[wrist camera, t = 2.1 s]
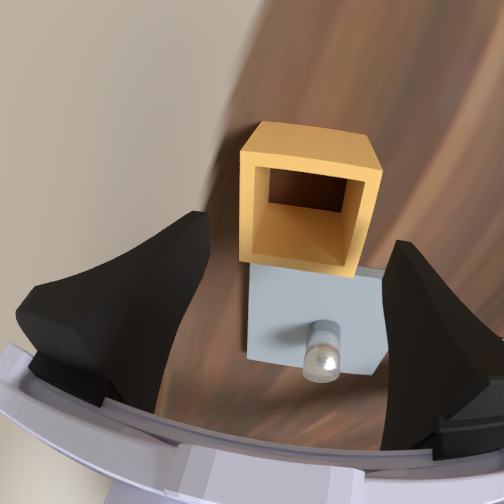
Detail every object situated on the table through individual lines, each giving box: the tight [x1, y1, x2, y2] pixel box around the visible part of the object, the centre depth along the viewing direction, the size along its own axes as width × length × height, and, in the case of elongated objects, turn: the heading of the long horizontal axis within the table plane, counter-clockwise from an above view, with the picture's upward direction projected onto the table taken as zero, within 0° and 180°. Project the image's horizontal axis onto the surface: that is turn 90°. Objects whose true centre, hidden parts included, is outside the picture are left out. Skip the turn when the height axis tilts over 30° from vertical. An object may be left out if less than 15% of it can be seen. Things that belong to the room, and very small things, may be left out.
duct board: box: [247, 263, 388, 383], centre depth 22 cm, size 12×12×5 cm
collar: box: [239, 121, 383, 278], centre depth 15 cm, size 6×6×5 cm
